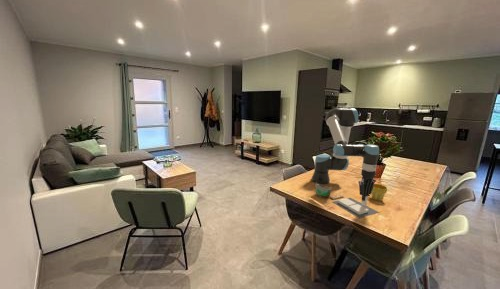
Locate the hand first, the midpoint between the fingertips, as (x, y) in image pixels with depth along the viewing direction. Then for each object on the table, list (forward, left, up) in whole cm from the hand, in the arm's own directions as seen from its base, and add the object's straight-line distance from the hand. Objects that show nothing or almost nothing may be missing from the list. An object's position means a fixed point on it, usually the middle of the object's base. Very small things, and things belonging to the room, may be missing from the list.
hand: (363, 204), depth 133 cm
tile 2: (0, 0, -2) cm, 2 cm away
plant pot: (-8, +25, -5) cm, 27 cm away
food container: (-24, -13, -5) cm, 28 cm away
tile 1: (-9, 0, -2) cm, 9 cm away
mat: (-4, -3, -4) cm, 7 cm away
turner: (-19, +1, -5) cm, 20 cm away
